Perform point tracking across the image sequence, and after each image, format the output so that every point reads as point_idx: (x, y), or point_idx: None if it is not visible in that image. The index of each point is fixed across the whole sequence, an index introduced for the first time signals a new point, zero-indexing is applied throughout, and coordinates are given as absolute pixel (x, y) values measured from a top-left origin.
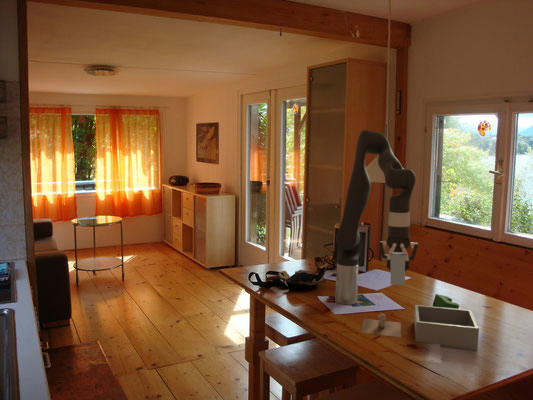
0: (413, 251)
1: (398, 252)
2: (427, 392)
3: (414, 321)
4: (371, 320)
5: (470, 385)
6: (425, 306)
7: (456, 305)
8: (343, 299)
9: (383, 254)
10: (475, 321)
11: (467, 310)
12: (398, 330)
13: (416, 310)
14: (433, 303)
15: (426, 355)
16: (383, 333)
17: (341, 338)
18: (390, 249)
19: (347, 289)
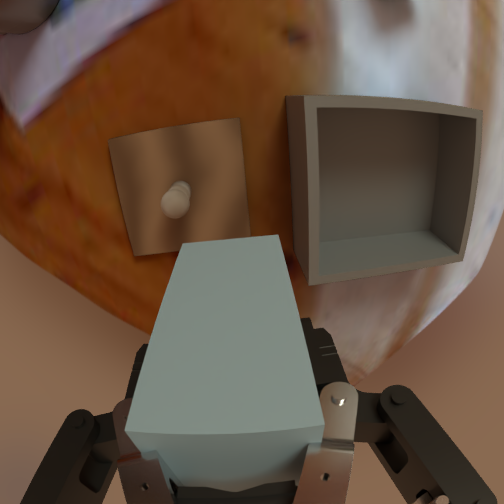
0: (405, 486)
1: (233, 438)
2: None
3: (291, 119)
4: (135, 143)
5: (373, 363)
6: (348, 105)
7: None
8: (15, 31)
9: (103, 469)
10: (472, 212)
11: (474, 115)
12: (238, 194)
13: (311, 169)
14: None
15: (316, 299)
16: (196, 236)
17: (101, 289)
18: (134, 490)
19: (3, 21)
